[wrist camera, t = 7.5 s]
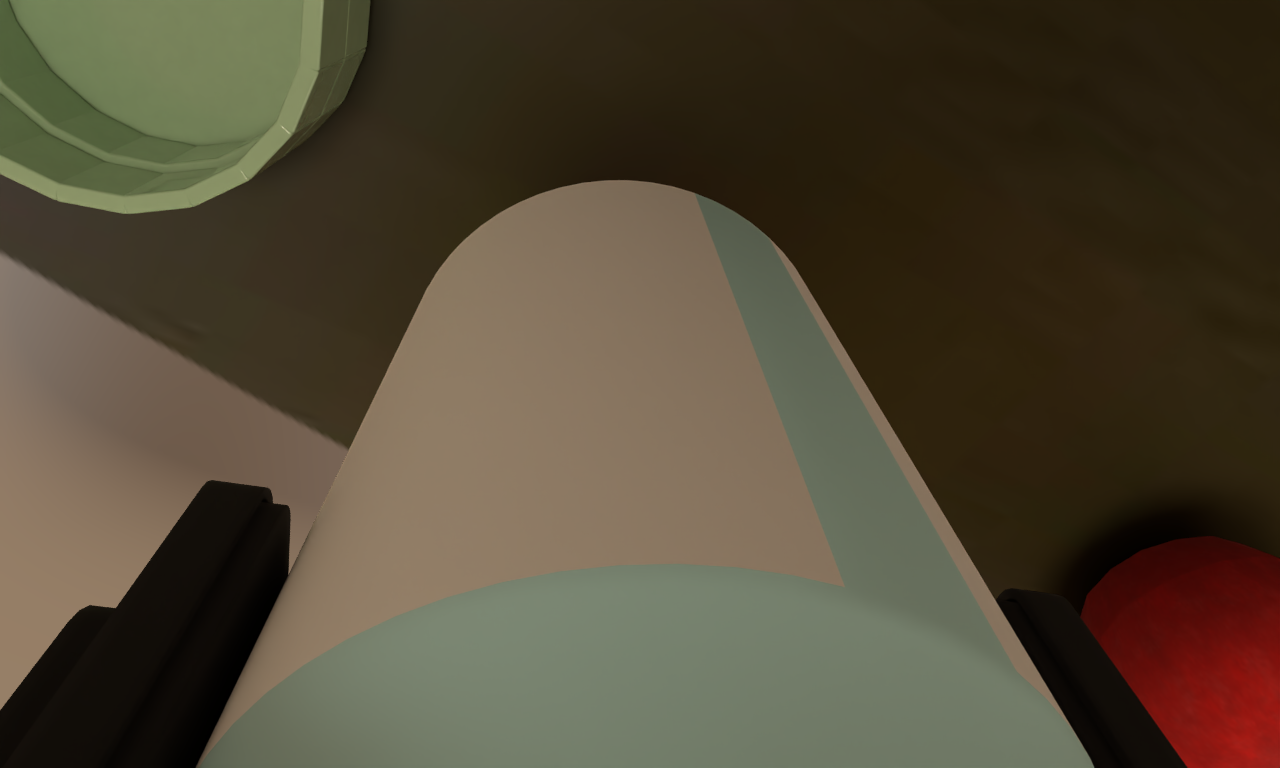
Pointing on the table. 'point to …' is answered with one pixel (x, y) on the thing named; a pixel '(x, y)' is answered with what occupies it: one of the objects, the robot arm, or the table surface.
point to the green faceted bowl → (166, 93)
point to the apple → (1198, 646)
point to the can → (632, 532)
